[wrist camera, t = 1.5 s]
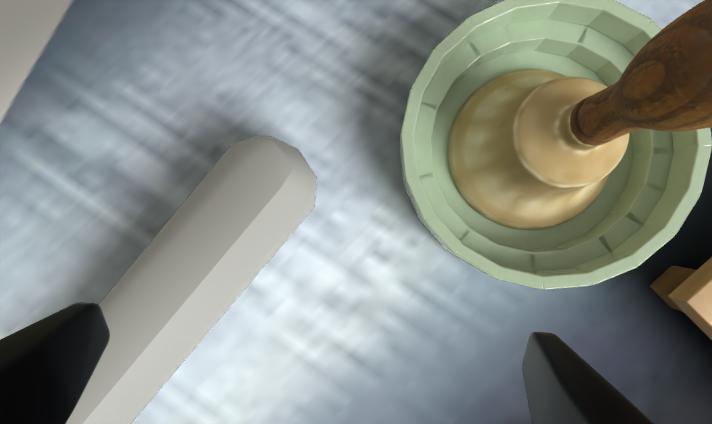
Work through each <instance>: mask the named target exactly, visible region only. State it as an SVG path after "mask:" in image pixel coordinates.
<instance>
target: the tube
mask: <svg viewBox="0 0 712 424" xmlns="http://www.w3.org/2000/svg"><path fill="white" fill-rule="evenodd" d="M316 190H317V177H316V175H315V174H314V172H313V171H312V169H311V168H310V166H309V165H308V163H307V162H306V160H305V159H304V157H303V155H302V154H301V152H300V151H299V149H297V148H295V147H292V146H290V145H288V144H286V143H284V142H282V141H280V140H277V139H275V138H273V137H271V136H256V137H252V138H248V139H245V140H241V141H237V142H233V143H232V144H231V146H230V147H229V148H228V149H227V151H226V152H225V153H224V154H223V155H222V157H221V158H220V159H219V160H218V161H217V163H216V164H215V165H214V166H213V167H212V169H211V170H210V171H209V172H208V173H207V175H206V176H205V177H204V178H203V179H202V181H201V182H200V183H199V184H198V185H197V187H196V188H195V189H194V190H193V192H192V193H191V194H190V195H189V196H188V198H187V199H186V200H185V201H184V202H183V204H182V205H181V206H180V207H179V208H178V210H177V211H176V212H175V213H174V214H173V216H172V217H171V218H170V219H169V220H168V222H167V223H166V224H165V225H164V226H163V228H162V229H161V230H160V231H159V233H158V234H157V235H156V236H155V237H154V239H153V240H152V241H151V242H150V243H149V245H148V246H147V247H146V248H145V249H144V251H143V252H142V253H141V254H140V255H139V257H138V258H137V259H136V260H135V261H134V263H133V264H132V265H131V266H130V267H129V269H128V270H127V271H126V272H125V274H124V275H123V276H122V277H121V278H120V280H119V281H118V282H117V283H116V284H115V286H114V287H113V288H112V289H111V290H110V292H109V293H108V294H107V295H106V296H105V298H104V299H103V300H102V301H101V302H100V304H99V306H100V307H101V309H102V312H103V315H104V317H105V320H106V323H107V325H108V328H109V331H110V339H109V342H108V345H107V347H106V349H105V351H104V353H103V354H102V356H101V358H100V360H99V362H98V364H97V366H96V368H95V370H94V372H93V374H92V376H91V378H90V380H89V382H88V384H87V386H86V388H85V390H84V392H83V394H82V396H81V398H80V400H79V401H78V403H77V405H76V407H75V409H74V411H73V412H72V414H71V416H70V417H69V419H68V421H67V422H66V424H131V423H132V422H133V421H134V420H135V419H136V417H137V416H138V415H139V414H140V413H141V411H142V410H143V409H144V408H145V407H146V406H147V404H148V403H149V402H150V401H151V400H152V398H153V397H154V396H155V395H156V394H157V393H158V391H159V390H160V389H161V388H162V387H163V385H164V384H165V383H166V382H167V381H168V380H169V378H170V377H171V376H172V375H173V374H174V372H175V371H176V370H177V369H178V368H179V367H180V365H181V364H182V363H183V362H184V361H185V359H186V358H187V357H188V356H189V355H190V354H191V352H192V351H193V350H194V349H195V348H196V346H197V345H198V344H199V343H200V342H201V341H202V339H203V338H204V337H205V336H206V335H207V333H208V332H209V331H210V330H211V329H212V328H213V326H214V325H215V324H216V323H217V322H218V320H219V319H220V318H221V317H222V316H223V315H224V313H225V312H226V311H227V310H228V309H229V307H230V306H231V305H232V304H233V303H234V302H235V300H236V299H237V298H238V297H239V296H240V294H241V293H242V292H243V291H244V290H245V289H246V287H247V286H248V285H249V284H250V283H251V281H252V280H253V279H254V278H255V277H256V276H257V274H258V273H259V272H260V271H261V270H262V268H263V267H264V266H265V265H266V264H267V263H268V261H269V260H270V259H271V258H272V257H273V255H274V254H275V253H276V252H277V251H278V250H279V248H280V247H281V246H282V245H283V244H284V243H285V241H286V240H287V239H288V238H289V237H290V235H291V234H292V233H293V232H294V231H295V230H296V228H297V227H298V226H299V225H300V224H301V222H302V221H303V220H304V219H305V218H306V217H307V215H308V214H309V213H310V212H311V211H312V209H313V208H314V207H315V199H316Z"/></svg>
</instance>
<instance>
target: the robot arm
mask: <svg viewBox="0 0 712 424" xmlns="http://www.w3.org/2000/svg"><path fill="white" fill-rule="evenodd" d="M109 339H110V331H109V328H108V325H107V323H106V320H105V317H104V315H103V312H102V309H101V307H100V306H99V305H98V304H95V303H82V302H81V303H75V304H73V305H71V306H69V307H67V308H65V309H63V310H61V311H59V312H56V313H54V314H52V315H50V316H48V317H46V318H44V319H42V320H40V321H38V322H36V323H34V324H32V325H30V326H28V327H26V328H24V329H22V330H20V331H17V332H15V333H13V334H11V335H9V336H7V337H5V338H3V339H1V340H0V424H66V422H67V421H68V419H69V417H70V416H71V414H72V412H73V411H74V409H75V407H76V405H77V403H78V401H79V400H80V398H81V396H82V394H83V392H84V390H85V388H86V386H87V384H88V382H89V380H90V378H91V376H92V374H93V372H94V370H95V368H96V366H97V364H98V362H99V360H100V358H101V356H102V354H103V353H104V351H105V349H106V347H107V345H108V342H109ZM522 370H523V377H524V382H525V388H526V393H527V399H528V404H529V410H530V415H531V421H532V424H654V423H653V422H652V421H651V420H650V419H649V418H648V417H647V416H646V415H644V414H643V413H642V412H641V411H640V410H639V409H638V408H637V407H635V406H634V405H633V404H632V403H631V402H630V401H629V400H628V399H627V398H625V397H624V396H623V395H622V394H621V393H620V392H619V391H618V390H617V389H615V388H614V387H613V386H612V385H611V384H610V383H609V382H608V381H607V380H605V379H604V378H603V377H602V376H601V375H600V374H599V373H598V372H597V371H595V370H594V369H593V368H592V367H591V366H590V365H589V364H588V363H587V362H585V361H584V360H583V359H582V358H581V357H580V356H579V355H578V354H577V353H575V352H574V351H573V350H572V349H571V348H570V347H569V346H568V345H566V344H565V343H564V342H563V341H562V340H561V339H560V338H559V337H558V336H556V335H555V334H553V333H544V332H533V333H531V335H530V337H529V340H528V344H527V347H526V351H525V355H524V359H523V365H522Z"/></svg>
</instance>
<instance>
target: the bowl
mask: <svg viewBox="0 0 712 424" xmlns="http://www.w3.org/2000/svg"><path fill="white" fill-rule="evenodd" d="M661 30H662V29H661V28H660V27H659V26H658V25H657V24H656V23H655V22H654V21H651V19H650V18H648V17H646V16H644V15H642V14H640V13H638V12H636V11H634V10H632V9H630V8H628V7H626V6H624V5H622V4H621V3H619V2H617V1H615V0H503V1H501V2H499V3H497V4H495V5H493V6H490V7H488V8H486V9H484V10H482V11H480V12H478V13H475V14H473V15H471V16H470V17H468V18H467V19H466V20H464V21H463V22H462V23H461V24H460V25H459V26H458V27H457V28H456V29H455V30H453V31H452V32H451V33H450V34H449V35H448V36H447V37H446V38H445V39H444V40H442V41H441V42H440V43H439V44H438V45H437V46H436V47H435V48H434V49H433V51H432V52H431V54H430V56H429V57H428V59H427V61H426V63H425V64H424V66H423V68H422V69H421V71H420V73H419V75H418V76H417V78H416V80H415V82H414V83H413V85H412V87H411V90H410V93H409V97H408V102H407V106H406V111H405V115H404V120H403V125H402V129H401V135H400V144H399V147H400V157H401V167H402V177H403V183H404V187H405V189H406V191H407V193H408V196H409V198H410V200H411V202H412V205H413V207H414V209H415V211H416V214H417V216H418V218H419V219H420V221H421V222H422V223H423V225H424V226H425V227H426V228H427V229H428V230H429V231H430V232H431V233H432V235H433V236H434V237H435V238H436V239H437V240H438V241H439V242H440V243H441V245H442V246H443V247H444V248H445V249H447V250H448V251H449V252H451V253H452V254H454V255H455V256H457V257H459V258H460V259H462V260H464V261H466V262H467V263H469V264H471V265H472V266H474V267H476V268H478V269H479V270H481V271H483V272H484V273H486V274H488V275H490V276H491V277H493V278H495V279H498V280H502V281H507V282H511V283H515V284H520V285H524V286H529V287H533V288H537V289H544V290H546V289H558V288H570V287H583V286H591V285H595V284H597V283H600V282H602V281H605V280H607V279H610V278H612V277H615V276H617V275H620V274H622V273H625V272H627V271H630V270H632V269H634V268H637V266H639V265H641V264H642V263H643V262H644V261H645V260H647V259H648V258H649V257H650V256H651V255H653V254H654V253H655V252H656V251H657V250H659V249H660V248H661V247H662V246H663V245H665V244H666V243H667V242H668V241H669V240H670V239H672V238H673V237H674V236H675V235H676V234H677V232H678V231H679V229H680V228H681V226H682V224H683V223H684V221H685V220H686V218H687V216H688V215H689V213H690V211H691V210H692V208H693V207H694V205H695V203H696V202H697V200H698V199H699V197H700V195H701V192H702V189H703V185H704V180H705V176H706V171H707V167H708V163H709V158H710V154H711V150H712V147H711V146H712V138H711V129H710V128H704V129H698V130H689V131H674V132H669V131H656V130H650V129H637V130H635V131H632V132H630V133H629V141H628V144H627V148H626V151H625V153H624V155H623V157H622V159H621V160H620V162H619V163H618V164H617V166H616V167H615V168H614V169H613V170H612V171H611V172H610V175H609V178H608V180H607V182H606V184H605V186H604V188H603V189H602V191H601V193H600V194H599V196H598V197H597V198H596V200H595V201H594V202H593V203H592V204H591V205H590V206H589V207H588V208H587V209H586V210H584V211H583V212H582V213H580V214H579V215H578V216H576V217H575V218H573V219H571V220H569V221H567V222H565V223H563V224H560V225H557V226H554V227H551V228H546V229H539V230H518V229H513V228H508V227H505V226H502V225H499V224H497V223H495V222H493V221H491V220H489V219H487V218H485V217H483V216H482V215H481V214H479V213H478V212H477V211H475V210H474V209H473V208H472V207H471V206H470V205H469V204H468V203H467V202H466V200H465V199H464V198H463V197H462V195H461V194H460V192H459V191H458V189H457V187H456V185H455V182H454V180H453V178H452V175H451V172H450V168H449V163H448V139H449V133H450V130H451V127H452V124H453V121H454V119H455V117H456V115H457V113H458V111H459V109H460V108H461V106H462V105H463V103H464V102H465V101H466V100H467V98H468V97H469V96H470V95H471V94H472V93H473V92H474V91H475V90H476V89H478V88H479V87H480V86H482V85H483V84H484V83H486V82H487V81H489V80H491V79H493V78H495V77H497V76H500V75H502V74H505V73H508V72H512V71H517V70H524V69H540V70H548V71H553V72H556V73H559V74H563V75H565V76H567V77H569V76H576V77H585V78H589V79H592V80H595V81H598V82H599V83H601V84H603V85H605V86H606V87H609V86H611V85H613V84H615V83H616V82H617V81H618V80H619V79H620V78H621V76H622V74H623V72H624V71H625V69H626V68H627V66H628V65H629V63H630V62H631V61H632V59H633V58H634V57H635V56H636V54H637V53H638V52H639V51H640V50H641V49H642V48H643V47H644V46H645V45H646V44H647V42H648V41H649V40H650V39H652V38H653V37H654V36H655V35H656V34H658V33H659V32H660V31H661Z"/></svg>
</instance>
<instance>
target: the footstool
mask: <svg viewBox="0 0 712 424" xmlns="http://www.w3.org/2000/svg"><path fill="white" fill-rule="evenodd" d="M650 287H651V288H652V289H653V290H654V291H655V292H656V293H657V294H658V295H659V296H660V297H661V298H662V299H663V300H664V301H665V302H666V303H667V304H668V305H669V306H670V307H671V308H673V309H676V310H679V311H682V312H684V313H685V314H686V315H687V316H688V317H689V318H690V319H691V320H692V321H693V322H694V323H695V324H696V325H697V326H698V327H699V328H700V329H701V330H702V331H703V332H704V333H705V334H706V335H707V336H708V337H709V338H710V339H711V340H712V257H711V258H710V259H709V260H708V261H706V262H705V263H704V264H703V265H702V266H701V267H700V268H699V269H697V270H695V269H690V268H684V267H679V266H671V267H670V268H669V269H667V270H666V271H665V272H664V273H663V274H662V275H661V276H660V277H658V278H657V279H656V280H655V281H654V282H653V283H652V284H651V285H650Z"/></svg>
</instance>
